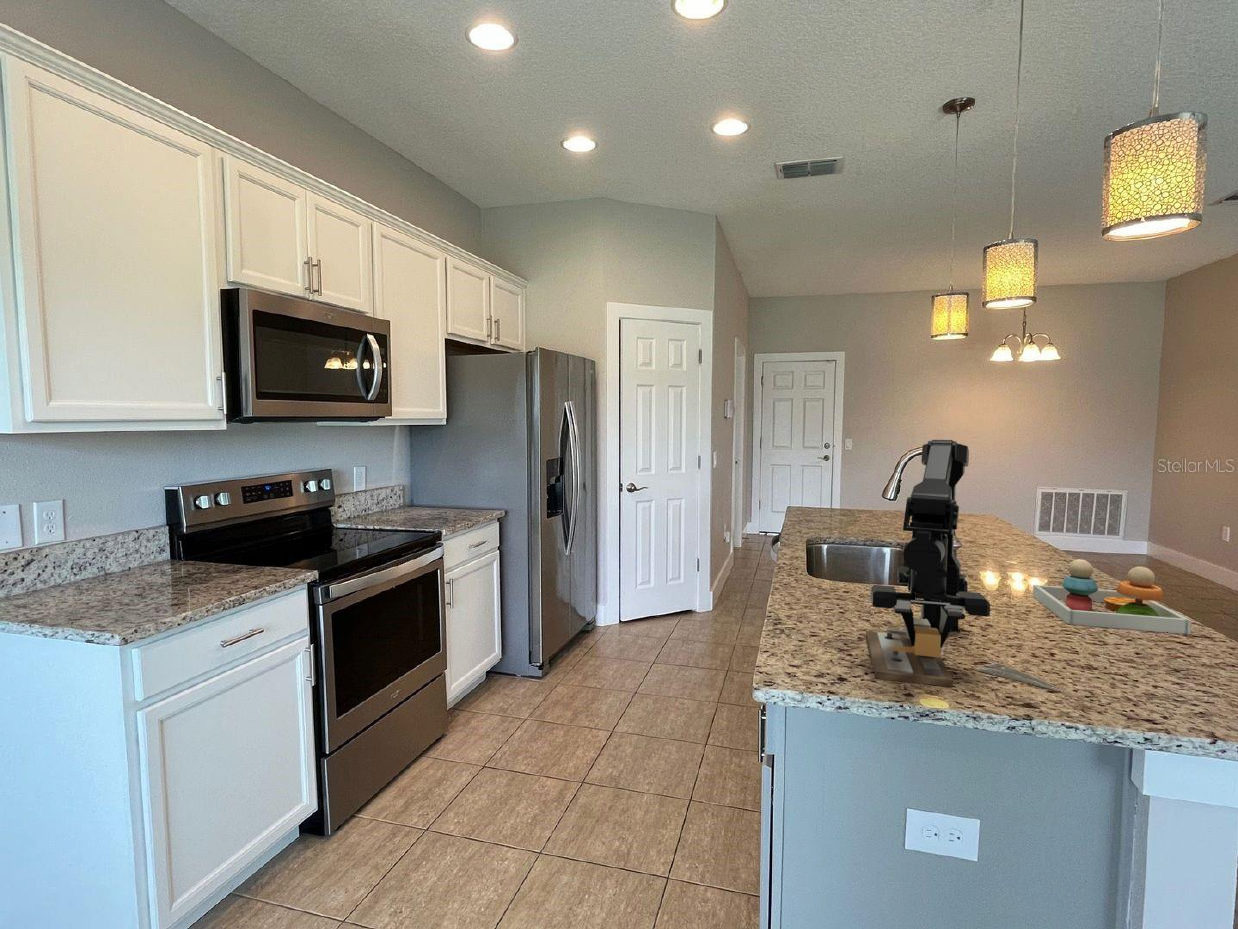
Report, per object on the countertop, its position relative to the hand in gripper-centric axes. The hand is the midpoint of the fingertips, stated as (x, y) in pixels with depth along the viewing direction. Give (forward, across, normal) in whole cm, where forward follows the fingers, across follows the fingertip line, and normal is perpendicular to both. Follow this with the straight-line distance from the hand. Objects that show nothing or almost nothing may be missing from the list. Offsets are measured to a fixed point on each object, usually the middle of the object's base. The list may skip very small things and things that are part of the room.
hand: (925, 646), depth 112 cm
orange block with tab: (+2, +2, 0) cm, 3 cm away
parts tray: (+4, -45, -48) cm, 66 cm away
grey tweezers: (+5, -17, +2) cm, 18 cm away
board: (+4, +3, -3) cm, 6 cm away
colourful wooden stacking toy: (+4, -46, -50) cm, 68 cm away
